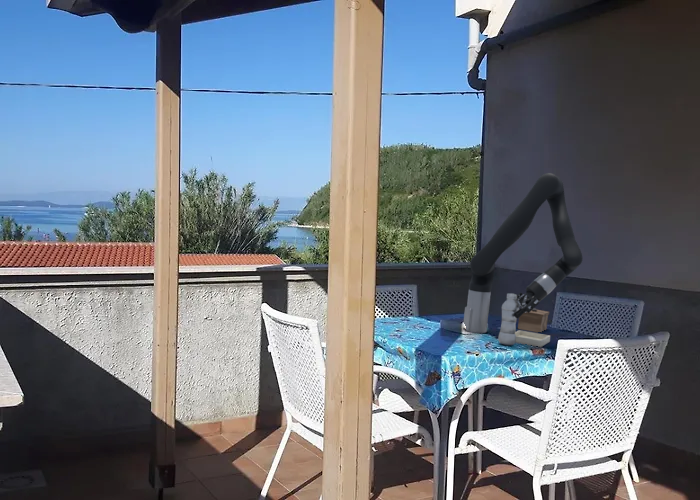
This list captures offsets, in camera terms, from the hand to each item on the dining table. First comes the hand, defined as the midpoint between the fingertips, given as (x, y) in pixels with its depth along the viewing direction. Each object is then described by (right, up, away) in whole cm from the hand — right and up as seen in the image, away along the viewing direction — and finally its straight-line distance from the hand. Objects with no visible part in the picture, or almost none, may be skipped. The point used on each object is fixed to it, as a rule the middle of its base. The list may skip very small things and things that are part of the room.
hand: (510, 314), depth 262 cm
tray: (+11, -12, +12) cm, 20 cm away
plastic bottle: (-1, -12, +1) cm, 12 cm away
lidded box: (+20, -11, +43) cm, 48 cm away
